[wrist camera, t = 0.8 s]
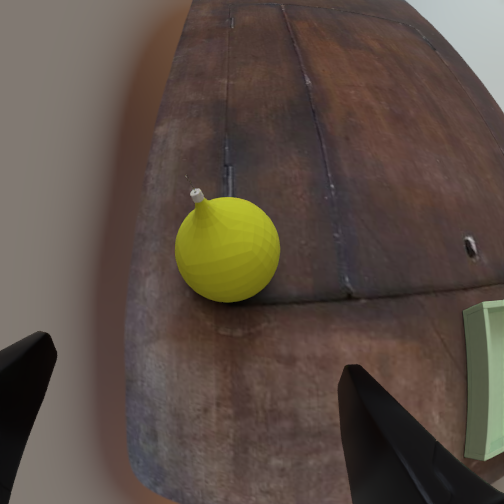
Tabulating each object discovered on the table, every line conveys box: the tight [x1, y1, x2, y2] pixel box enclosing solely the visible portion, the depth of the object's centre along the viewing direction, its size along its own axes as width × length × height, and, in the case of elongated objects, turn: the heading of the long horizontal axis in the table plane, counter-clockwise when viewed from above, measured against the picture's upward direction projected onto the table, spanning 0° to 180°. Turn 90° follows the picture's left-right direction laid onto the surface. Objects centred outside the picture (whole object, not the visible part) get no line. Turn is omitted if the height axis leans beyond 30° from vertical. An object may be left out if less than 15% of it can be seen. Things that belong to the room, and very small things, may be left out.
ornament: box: [175, 176, 280, 303], centre depth 20 cm, size 7×7×10 cm
